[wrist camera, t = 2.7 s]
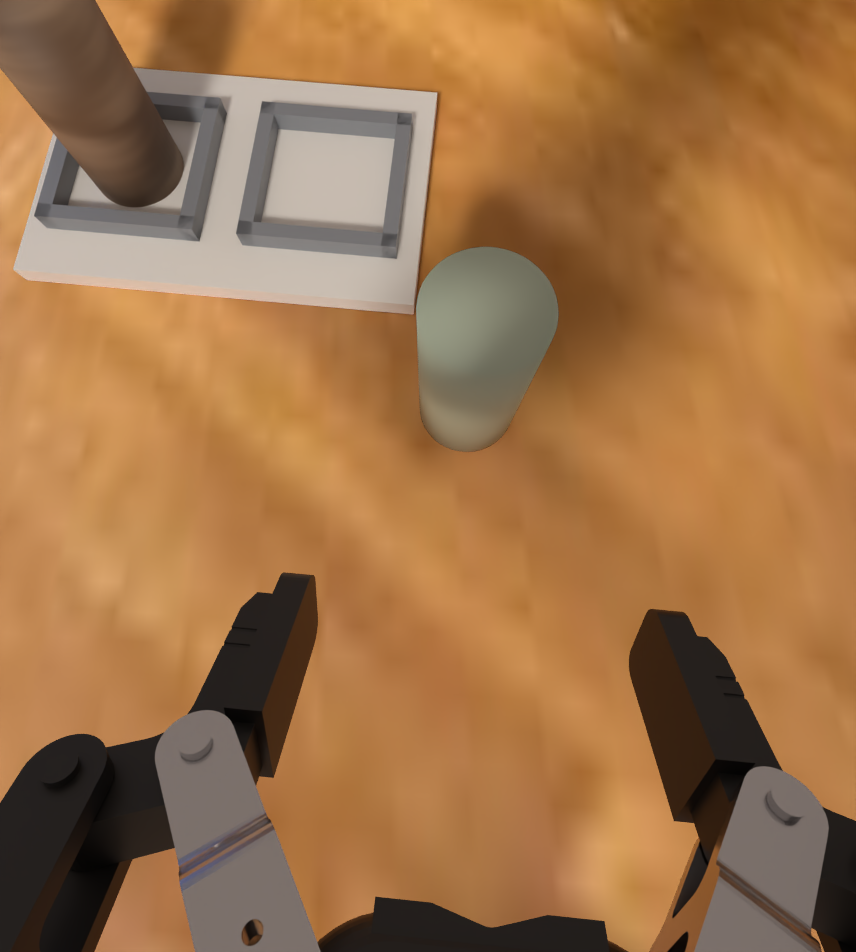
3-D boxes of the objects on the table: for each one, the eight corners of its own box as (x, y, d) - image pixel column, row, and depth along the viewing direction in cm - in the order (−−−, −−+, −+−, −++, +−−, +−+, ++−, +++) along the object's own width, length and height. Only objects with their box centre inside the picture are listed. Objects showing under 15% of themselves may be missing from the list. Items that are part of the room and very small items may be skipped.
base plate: (436, 107, 32) (437, 76, 30) (414, 314, 29) (413, 294, 27) (84, 78, 33) (62, 46, 31) (26, 280, 30) (-2, 258, 28)
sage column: (476, 347, 29) (502, 223, 19) (531, 418, 28) (587, 326, 18) (401, 395, 28) (388, 292, 19) (454, 470, 27) (470, 403, 18)
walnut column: (157, 118, 31) (32, -100, 21) (199, 179, 30) (89, -20, 20) (80, 159, 30) (-85, -46, 20) (121, 222, 29) (-32, 39, 20)
